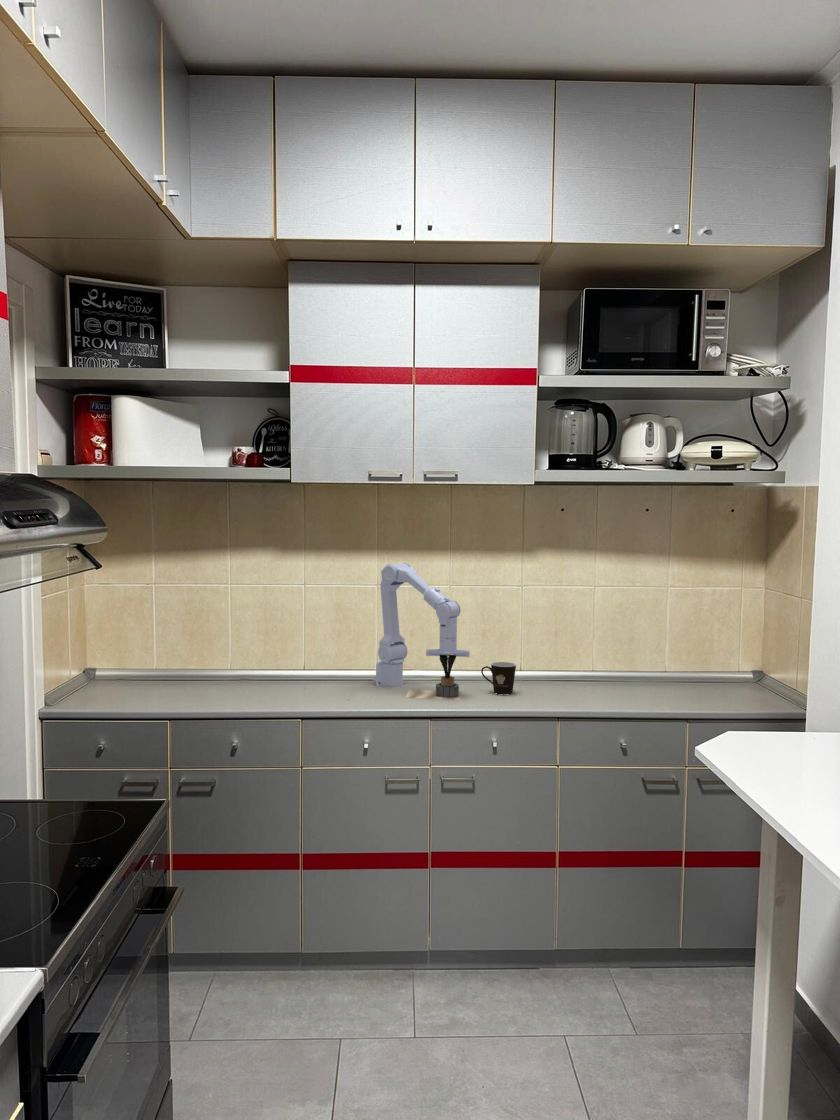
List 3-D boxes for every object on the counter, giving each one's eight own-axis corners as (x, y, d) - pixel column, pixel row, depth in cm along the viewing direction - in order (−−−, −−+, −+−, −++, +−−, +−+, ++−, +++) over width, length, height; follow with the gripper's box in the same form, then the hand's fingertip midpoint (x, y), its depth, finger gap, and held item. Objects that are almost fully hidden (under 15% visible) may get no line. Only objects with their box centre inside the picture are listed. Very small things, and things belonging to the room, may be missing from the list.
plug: (440, 696, 270) (440, 678, 270) (441, 693, 275) (441, 675, 274) (453, 696, 270) (454, 679, 270) (454, 693, 275) (454, 676, 274)
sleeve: (435, 697, 269) (435, 686, 269) (437, 692, 277) (437, 681, 276) (457, 698, 268) (458, 687, 268) (459, 692, 276) (459, 682, 276)
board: (405, 700, 268) (405, 697, 268) (409, 692, 280) (409, 689, 280) (459, 702, 266) (459, 699, 266) (461, 694, 278) (461, 691, 278)
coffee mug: (520, 693, 281) (521, 664, 280) (504, 697, 275) (504, 667, 274) (495, 687, 289) (496, 659, 289) (479, 691, 284) (479, 662, 283)
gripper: (425, 638, 268) (424, 679, 269) (469, 639, 267) (468, 680, 267) (427, 635, 275) (427, 675, 276) (470, 636, 274) (469, 676, 274)
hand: (447, 677), depth 272 cm, fingers closed, pressing on plug
